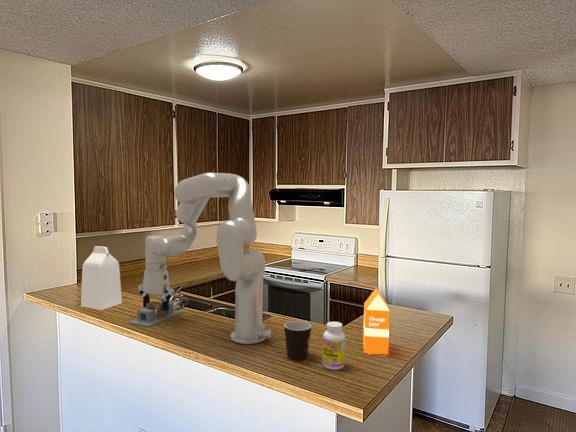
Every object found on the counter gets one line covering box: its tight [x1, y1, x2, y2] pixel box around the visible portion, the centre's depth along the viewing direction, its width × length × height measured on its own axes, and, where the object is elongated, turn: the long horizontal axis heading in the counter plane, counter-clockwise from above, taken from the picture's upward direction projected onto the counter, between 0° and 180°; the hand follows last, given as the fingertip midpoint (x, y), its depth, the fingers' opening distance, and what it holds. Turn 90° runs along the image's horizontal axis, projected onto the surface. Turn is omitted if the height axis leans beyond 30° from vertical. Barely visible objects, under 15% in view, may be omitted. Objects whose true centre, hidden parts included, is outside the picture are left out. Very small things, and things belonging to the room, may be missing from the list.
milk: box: [80, 245, 123, 311], centre depth 181 cm, size 12×12×26 cm
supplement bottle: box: [321, 321, 346, 371], centre depth 123 cm, size 7×7×13 cm
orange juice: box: [362, 287, 390, 355], centre depth 136 cm, size 8×9×20 cm
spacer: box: [145, 300, 166, 319], centre depth 165 cm, size 6×4×5 cm, turn 67°
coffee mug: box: [283, 320, 312, 362], centre depth 130 cm, size 12×9×10 cm
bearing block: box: [127, 300, 183, 328], centre depth 165 cm, size 10×20×5 cm, turn 157°
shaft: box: [172, 296, 190, 309], centre depth 175 cm, size 4×15×3 cm, turn 157°
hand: (155, 308), depth 165 cm, fingers open, 9 cm apart
